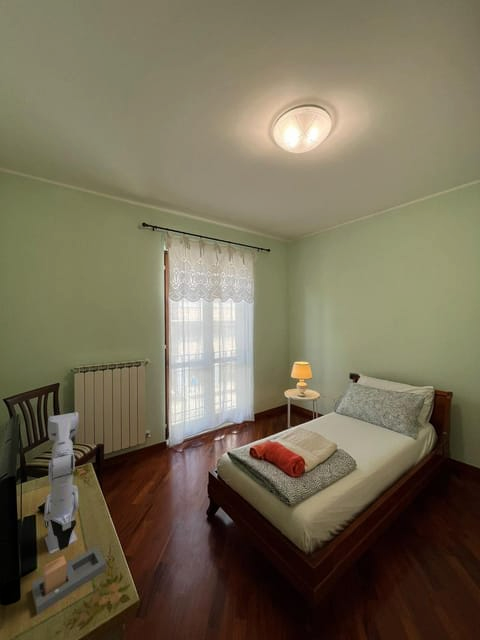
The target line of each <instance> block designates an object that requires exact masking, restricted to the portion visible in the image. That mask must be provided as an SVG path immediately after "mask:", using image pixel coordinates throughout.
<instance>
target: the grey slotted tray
mask: <svg viewBox="0 0 480 640" xmlns="http://www.w3.org/2000/svg"><path fill="white" fill-rule="evenodd" d="M106 570H107V563H106V561H105V559H104V557H103V556H102V554H101V552H100V550H99V548H98V546H96V545H95V546H93V548H90V549H89V550H87V551H85V552H84V553H82V554H81V555H80V554H79V556H77V557H75V558H73V559H72V560H70V561H68V562H66V583H65V584H63V585H61V586H60V587H58V588H57V589H55V590H53V591H52V592H50V593H49V594H47V595H44V592H43V582H44V576H42V577H40V578H38V579H37V580H34V581H33V582H31V592H32V598H33V602H34V607H35V611H36V616H38V615H39V614H41V613H42V612H44V611H46V610H47V609H48V608H50V607H52V606H53V605H55V604H56V603H57V602H59V601H60V600H63V599H64V598H65V597H67V596H69V594H72V593H73V592H74V591H76V590H77V589H79V588H80V587H82V586H84V585H85V584H86V583H88V582H90V581H91V580H93V579H94V578H96V577H98V576H99V575H100V574H102V573H104V572H105V571H106Z"/></svg>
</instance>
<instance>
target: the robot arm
mask: <svg viewBox="0 0 480 640" xmlns="http://www.w3.org/2000/svg"><path fill="white" fill-rule="evenodd" d="M78 429H79V412H77V411H74V412H70V413H65V414H58V415H50V416H49V417H48V418H47V435H48V436H47V437H48V439H49V440H50V441H54V443H53V445H52V448H51V458H50V459H51V460H49V464H48V478H49V479H48V480H49V487H50V488H49V489H50V492H49V493H48V494H47V496H46V497H45V504H44V515H43V516H44V517H43V518H44V521H45V523H46V522H47V521H48V520H49V527H48V528H47V529H48V535H47V536H45V537H44V541H45V544H46V546H47V549H48V552H49V553H48V554H50V555H51V554H53V553H55V552H57V551H62V550H64V549H66V548H68V547H69V545H70V544H72V543H73V542H76V541H77V540H78V538H77V535H76V533H75V530H74V529H75V527H76V526H77V521H76V519H74V518H75V512H77V510H79V489H78V487H77V485H74V484H73V480H74V475H73V474H74V473H75V465H76V464H75V461H76V460H75V459H76V458H75V455H74V451H73V449H74V448H73V447H74V445H73V441H72V438H73V437H75V436H76V435H77V434H78V433H77V432H78Z"/></svg>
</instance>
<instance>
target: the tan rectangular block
mask: <svg viewBox="0 0 480 640" xmlns="http://www.w3.org/2000/svg"><path fill="white" fill-rule="evenodd" d="M66 563H67V561H66V558H65V556H64V555H62V556H60V557H58V558H56V559H55V560H52V561H51V562H49V563H47V564H45V565H43V577H44V582H43V592H44V595H47V594H49V593H50V592H52V591H53V590H55V589H57V588H58V587H60V586H61V585H63V584H65V583H66Z"/></svg>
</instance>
